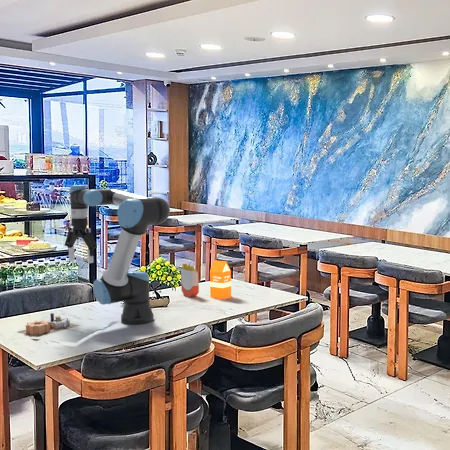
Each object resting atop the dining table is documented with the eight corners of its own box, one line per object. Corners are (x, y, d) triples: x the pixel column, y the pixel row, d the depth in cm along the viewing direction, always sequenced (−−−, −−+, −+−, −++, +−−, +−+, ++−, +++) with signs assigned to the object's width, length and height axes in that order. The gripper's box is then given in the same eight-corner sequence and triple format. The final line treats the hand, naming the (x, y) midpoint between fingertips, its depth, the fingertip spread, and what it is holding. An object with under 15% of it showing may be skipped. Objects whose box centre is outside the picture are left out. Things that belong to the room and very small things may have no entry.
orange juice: (218, 294, 322) (217, 259, 320) (231, 296, 316) (230, 260, 315) (210, 297, 315) (209, 261, 313) (223, 299, 310) (222, 262, 308)
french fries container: (188, 293, 326) (187, 262, 324) (199, 296, 317) (198, 264, 316) (181, 294, 323) (180, 263, 321) (192, 297, 314) (191, 265, 313)
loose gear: (54, 330, 248) (54, 322, 248) (35, 335, 241) (34, 327, 240) (41, 327, 254) (40, 319, 254) (21, 332, 246) (21, 324, 246)
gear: (73, 323, 259) (73, 311, 258) (62, 329, 250) (61, 317, 249) (54, 322, 261) (54, 310, 261) (42, 328, 252) (42, 316, 251)
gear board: (79, 328, 256) (78, 316, 255) (36, 340, 238) (35, 327, 238) (59, 324, 264) (59, 312, 264) (16, 335, 247) (16, 322, 246)
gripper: (56, 217, 278) (58, 260, 280) (91, 219, 264) (92, 264, 266) (68, 216, 284) (70, 258, 286) (103, 217, 270) (105, 262, 272)
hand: (81, 261), depth 276 cm, fingers open, 13 cm apart
